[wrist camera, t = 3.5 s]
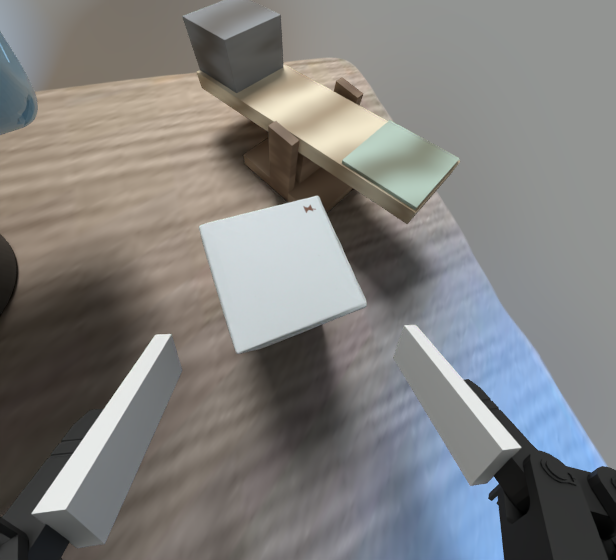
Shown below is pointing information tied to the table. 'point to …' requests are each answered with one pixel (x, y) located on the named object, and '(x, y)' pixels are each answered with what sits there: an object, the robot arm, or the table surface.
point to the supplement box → (279, 272)
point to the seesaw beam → (312, 109)
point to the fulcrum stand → (298, 163)
